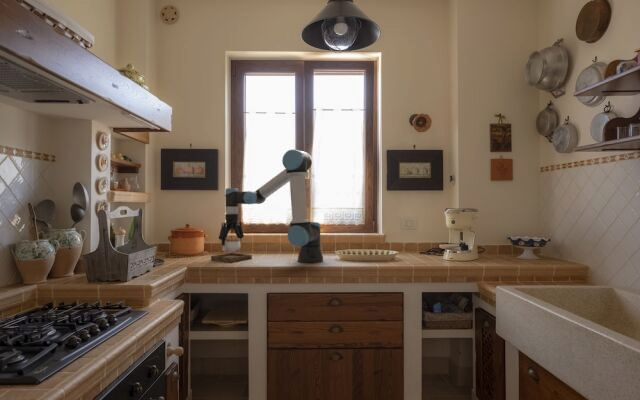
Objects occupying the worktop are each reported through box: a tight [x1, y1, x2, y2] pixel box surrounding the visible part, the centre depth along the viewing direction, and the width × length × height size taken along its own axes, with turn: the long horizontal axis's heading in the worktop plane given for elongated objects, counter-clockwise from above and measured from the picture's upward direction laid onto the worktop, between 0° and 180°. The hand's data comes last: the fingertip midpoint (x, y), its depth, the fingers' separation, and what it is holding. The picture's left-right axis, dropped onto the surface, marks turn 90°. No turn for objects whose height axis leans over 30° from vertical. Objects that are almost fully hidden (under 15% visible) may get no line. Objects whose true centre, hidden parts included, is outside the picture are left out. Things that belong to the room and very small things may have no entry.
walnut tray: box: [210, 252, 253, 264], centre depth 237 cm, size 17×17×2 cm
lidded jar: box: [225, 235, 242, 253], centre depth 237 cm, size 11×11×9 cm
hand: (231, 249), depth 237 cm, fingers closed on lidded jar, 11 cm apart
